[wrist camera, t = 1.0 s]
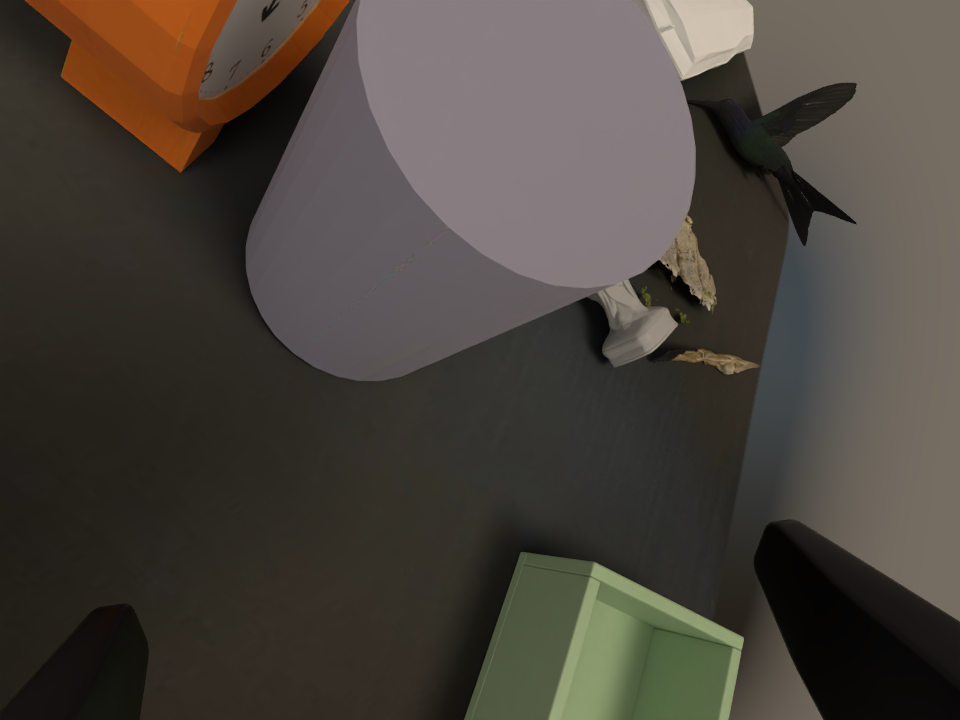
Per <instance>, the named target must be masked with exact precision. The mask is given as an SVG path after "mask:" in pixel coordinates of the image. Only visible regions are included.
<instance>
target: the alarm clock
mask: <svg viewBox="0 0 960 720" xmlns="http://www.w3.org/2000/svg"><path fill="white" fill-rule="evenodd" d="M25 1H26V2H27V3H28V4H29V5H31V6H32V7H33V8H34V9H35V10H37V11H38V12H39V13H40V14H42V15H43V16H44V17H45V18H46V19H48V20H49V21H50V22H51V23H52V24H54V25H55V26H56V27H57V28H59V29H60V30H61V31H62V32H63V33H65V34H66V35H67V36H68V37H69V38H71V39H72V41H71V44H70V47H69V51H68V54H67V57H66V61H65V64H64V67H63V70H62V74H61V77H62V78H63V79H64V80H65V81H67V82H68V83H69V84H70V85H72V86H73V87H74V88H75V89H77V90H78V91H79V92H80V93H82V94H83V95H84V96H85V97H87V98H88V99H89V100H90V101H92V102H93V103H94V104H95V105H97V106H98V107H99V108H100V109H102V110H103V111H104V112H105V113H107V114H108V115H109V116H110V117H112V118H113V119H114V120H115V121H117V122H118V123H119V124H120V125H122V126H123V127H124V128H125V129H127V130H128V131H129V132H130V133H132V134H133V135H134V136H135V137H137V138H138V139H139V140H140V141H142V142H143V143H144V144H145V145H147V146H148V147H149V148H150V149H152V150H153V151H154V152H155V153H157V154H158V155H159V156H160V157H162V158H163V159H164V160H165V161H167V162H168V163H169V164H170V165H171V166H173V167H174V168H175V169H176V170H178V171H179V172H180V173H181V172H182V171H183V170H185V169H186V168H187V167H188V166H189V165H190V164H191V163H192V162H193V161H194V160H195V159H196V158H197V157H198V156H199V155H200V154H202V153H203V152H204V151H205V150H206V149H207V148H208V147H209V146H210V145H211V144H212V143H213V142H214V141H215V139H216V137H217V136H218V134H219V132H220V131H221V129H222V127H223V125H224V124H226V123H228V122H229V121H231V120H232V119H234V118H236V117H237V116H239V115H241V114H242V113H244V112H245V111H247V110H249V109H250V108H252V107H253V106H254V105H255V104H257V103H258V102H259V101H260V100H261V99H262V98H264V97H265V96H266V95H267V94H268V93H269V92H271V91H272V90H273V89H274V88H275V87H276V86H278V85H279V84H280V83H281V82H282V81H283V79H284V78H285V77H286V76H287V75H288V74H289V73H290V72H291V71H292V70H293V69H294V68H295V67H296V66H297V65H298V64H299V63H300V62H301V61H302V60H303V59H304V58H305V57H306V55H307V54H308V53H309V52H310V51H311V49H312V48H313V47H314V46H315V45H317V44H318V43H319V42H320V41H321V40H322V39H323V35H324V34H325V33H326V31H327V30H328V29H329V28H330V27H331V25H332V24H333V23H334V22H335V20H336V19H337V17H338V16H339V15H340V13H341V12H342V11H343V9H344V8H345V6H346V5H347V4H348V2H349V1H350V0H25Z"/></svg>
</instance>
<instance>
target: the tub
mask: <svg viewBox="0 0 960 720" xmlns="http://www.w3.org/2000/svg"><path fill="white" fill-rule="evenodd" d="M743 641H744V638H743V637H742V636H740V635H738V634H736V633H734V632H732V631H730V630H728V629H726V628H724V627H722V626H720V625H718V624H716V623H714V622H712V621H710V620H708V619H706V618H704V617H702V616H700V615H698V614H696V613H694V612H692V611H690V610H688V609H686V608H684V607H683V606H681V605H679V604H677V603H675V602H673V601H671V600H669V599H667V598H665V597H663V596H661V595H659V594H657V593H655V592H653V591H651V590H649V589H647V588H645V587H643V586H641V585H639V584H637V583H635V582H633V581H631V580H629V579H627V578H625V577H623V576H621V575H619V574H617V573H615V572H613V571H611V570H609V569H607V568H605V567H604V566H602V565H600V564H598V563H596V562H591V561H583V560H576V559H569V558H562V557H555V556H548V555H541V554H534V553H526V552H521V553H520V556H519V559H518V562H517V565H516V568H515V571H514V574H513V577H512V580H511V582H510V585H509V588H508V591H507V594H506V597H505V600H504V603H503V606H502V609H501V612H500V615H499V618H498V621H497V624H496V627H495V630H494V633H493V636H492V639H491V642H490V645H489V648H488V650H487V653H486V656H485V659H484V662H483V665H482V668H481V671H480V674H479V677H478V680H477V683H476V686H475V689H474V692H473V695H472V698H471V701H470V704H469V707H468V710H467V713H466V716H465V718H464V720H728V719H729V714H730V708H731V704H732V698H733V693H734V688H735V682H736V677H737V672H738V667H739V662H740V656H741V651H740V650H742V645H743Z"/></svg>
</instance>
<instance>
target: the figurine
mask: <svg viewBox="0 0 960 720" xmlns="http://www.w3.org/2000/svg"><path fill="white" fill-rule="evenodd" d="M587 297H588V298H590V299H591V300H595V301H597V302H598V303H599V304H600V305H601V306H602V307H603V308H604V310H605V313H606V316H607V318H608V320H609V327H610V332H609V334H608V336H607V338H606V340H605V342H604V344H603V347H602V353H603V355H604V356H605V357H607V358H608V359H609V361H610V363H611V364H612V366H613V367H618V366H621V365H624V364H626V363H629V362H631V361H634V360H637V359H639V358H641V357H643V356H646V355H648V354H650V353H651V352H653V351H654V350H655V349H657V348H658V347H659V346H660V345H661V344H662V342H663V341H664V340H665V339H666V338H667V337H668V336H669V335H670V334H671V332H672V331H673V330H674V329H675V328H676V327H677V325H678V323H676V322H675V321H674V320H673V318H672V317H671V315H670V313H669V310H668V309H667V308H664V307H645V306H644V305H642V303H641V302H640V300H639V299H638V297H637V295H636V293H635V291H634V290H633V288H632V286H631V284H630V282H629V280H628V279H626V280H624V281H622V282H620V283H618V284H615V285H613V286H611V287H608V288H606V289H604V290H601V291H599V292H597V293H594V294H592V295H590V296H587Z"/></svg>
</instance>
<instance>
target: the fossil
mask: <svg viewBox="0 0 960 720" xmlns="http://www.w3.org/2000/svg"><path fill="white" fill-rule="evenodd" d="M665 360H666V361H676V362H677V361H678V360H684V361H687V362H692V363H693V362H697V363H698V362H700V361H704V364H708V365H710V364H712V365H715V366H716V365H717V368H718V369H719V370H720V371H721V372H723V373H724V374H733V373H734V372H737V373H739V371H743V370H745V369H750V368H752V367H753V368H754V367H757V368H758V367H759V365H758V364H755V363H752V362H749V361H745V360H742V359H740V358H739V357H736V356H733V355H724V354H720V353H717V354H714V353H713V352H712V351H710V350H706V349H677V350H671V351H667V352H664V353H663V354H662V355H660V356H658V357H657V358H656V359H655V360H653V362H654V363H655V362H656V361H658V362H659V361H662V362H664V361H665Z"/></svg>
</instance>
